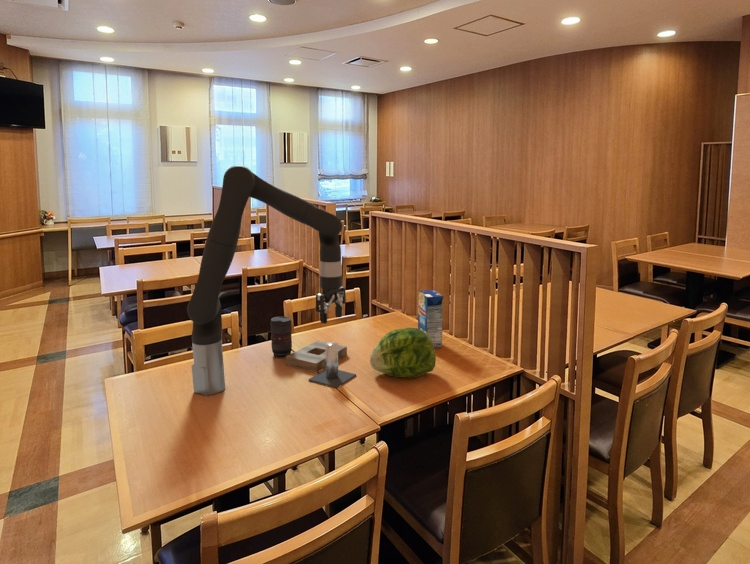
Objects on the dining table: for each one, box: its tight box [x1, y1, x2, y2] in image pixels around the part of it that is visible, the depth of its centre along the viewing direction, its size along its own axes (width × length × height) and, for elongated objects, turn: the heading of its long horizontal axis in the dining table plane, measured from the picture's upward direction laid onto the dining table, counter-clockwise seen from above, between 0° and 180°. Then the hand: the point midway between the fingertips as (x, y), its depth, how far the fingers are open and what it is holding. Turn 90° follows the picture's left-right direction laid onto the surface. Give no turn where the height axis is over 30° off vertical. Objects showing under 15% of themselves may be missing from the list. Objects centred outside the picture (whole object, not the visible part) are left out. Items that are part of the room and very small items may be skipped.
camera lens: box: [270, 315, 293, 359], centre depth 195 cm, size 8×8×15 cm
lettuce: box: [369, 327, 437, 379], centre depth 176 cm, size 18×23×19 cm
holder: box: [285, 340, 348, 373], centre depth 191 cm, size 20×14×4 cm
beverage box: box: [417, 289, 444, 349], centre depth 206 cm, size 7×11×22 cm, turn 14°
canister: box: [325, 341, 339, 379], centre depth 173 cm, size 4×4×12 cm
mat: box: [308, 368, 357, 389], centre depth 175 cm, size 12×12×1 cm
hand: (331, 319), depth 170 cm, fingers open, 8 cm apart
